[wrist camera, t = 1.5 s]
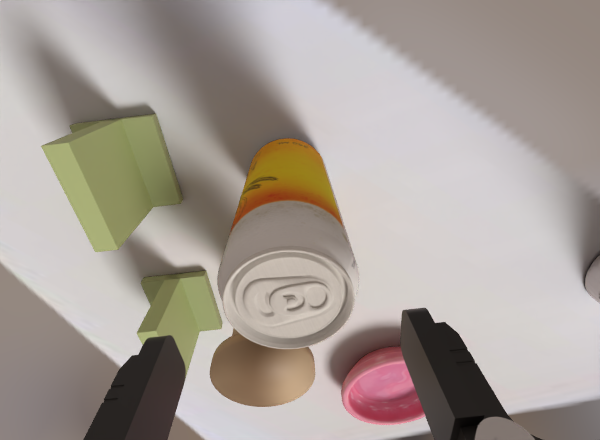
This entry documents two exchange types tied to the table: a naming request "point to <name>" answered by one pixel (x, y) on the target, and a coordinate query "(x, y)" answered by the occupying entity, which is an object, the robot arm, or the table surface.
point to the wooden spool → (261, 372)
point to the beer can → (288, 252)
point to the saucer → (381, 389)
